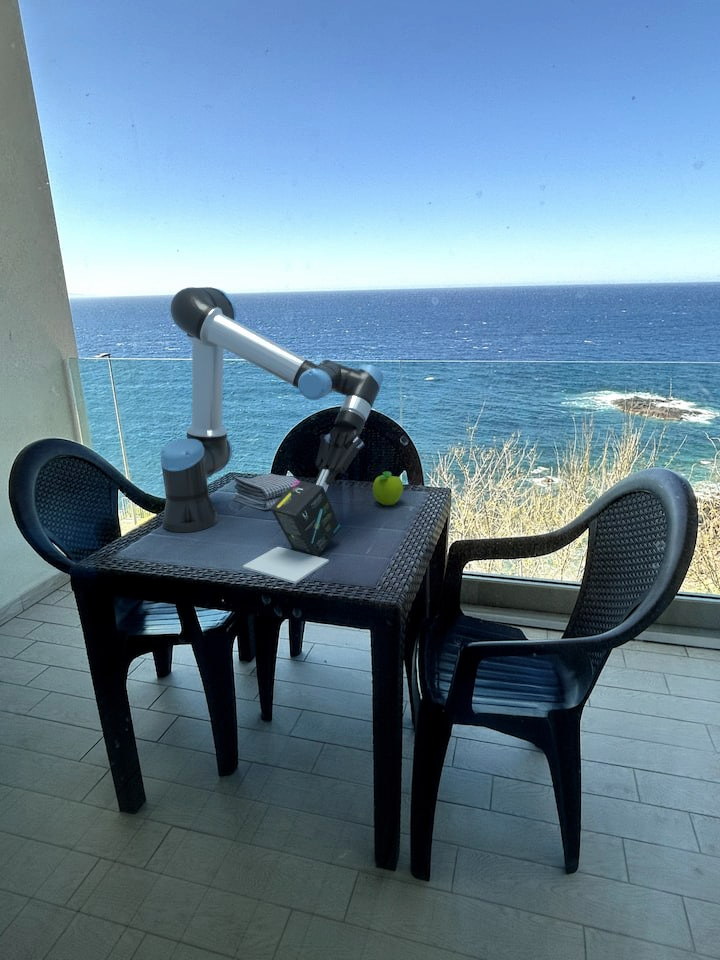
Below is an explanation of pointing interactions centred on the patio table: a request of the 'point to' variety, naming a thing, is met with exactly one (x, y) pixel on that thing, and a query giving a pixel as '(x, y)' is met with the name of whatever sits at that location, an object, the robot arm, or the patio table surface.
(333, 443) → the robot arm
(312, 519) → the tampon box
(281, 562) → the mat
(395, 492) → the fruit
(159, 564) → the patio table surface
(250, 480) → the towel
